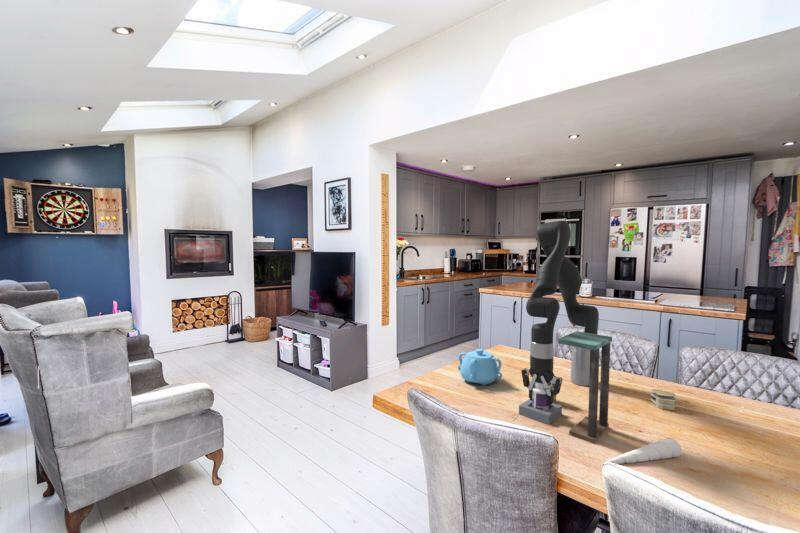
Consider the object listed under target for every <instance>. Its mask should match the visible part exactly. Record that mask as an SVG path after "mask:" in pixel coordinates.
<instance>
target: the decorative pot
mask: <svg viewBox="0 0 800 533" xmlns="http://www.w3.org/2000/svg"><path fill="white" fill-rule="evenodd" d="M462 356H464V358H463V359H462ZM458 361H459V364H458V366H457V370H458V371H459V374H460V376H461V378H462V379H463V380H465V381H466V382H467V383H474V384H480V385H481V386H487V385H490V384H492V383H493V382H495V381H496V379H497V380H498V379H499V380H501V379H502V378H503V373H502V372H500V371H501V368H502V361H501V359H500V358H498V357H495V356H494V354H493V353H490V352H488V351H486V350H484V349H482V348H477V349H475V350H471V351H470V352H461V353H459V355H458Z"/></svg>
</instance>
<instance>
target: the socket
mask: <svg viewBox="0 0 800 533" xmlns="http://www.w3.org/2000/svg"><path fill="white" fill-rule="evenodd" d="M562 413H563V405H560V404H557V403H555V402H554V403H553V404H551V405H550V406H549V410H547V411H546V412H545V411H542V410H539V409H536V408H533V407H532V401H531V400H530V398H528V399H527V400H526V401H524V402H523V403H521V404H519V405H518V415H520V416H523V417H526V418H529V419H532V420H535V421H538V422H540V423H543V424H546V425H550V424H551V423H552V422H554V421H555V420H557V419H558V418H559V417H561V416H562V415H563V414H562Z"/></svg>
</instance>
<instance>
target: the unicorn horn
mask: <svg viewBox="0 0 800 533" xmlns="http://www.w3.org/2000/svg"><path fill="white" fill-rule="evenodd" d="M681 455H682V447H681V445H680V443H679V442H678V441H677V440H676V439H673V438H672V437H666V438H663V439H661V440H658V441H655V442H652V443H650V444H646V445H643V446H641V447H639V448H636V449H632V450H630V451H627V452H625V453H622V454H620V455H617V456H615V457H613V458H610V459H608V460H607V461H610V462H612V463H617V464H616V465H623V464H625V463H626V464H631V463H637V462H638V463H642V462H649V461H655V460H663V459H670V458H678V457H680V456H681ZM602 465H603V463H602ZM603 466H604V465H603Z"/></svg>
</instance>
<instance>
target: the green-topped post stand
mask: <svg viewBox="0 0 800 533" xmlns="http://www.w3.org/2000/svg"><path fill="white" fill-rule="evenodd" d="M612 342H613V337H612V336H608V335H601V334H598V333H597V334H591V333H585V332H584V331H577V330H576V331H574V332H571V333H569V334H567V335H565V336H561V337H559V338H557V344H559V345H565V346H570V347H572V346H574V347H579V348H585V349H590V378H589V386H588V409H587V410H588V414H587V415H588V416H585V417H583V418H582V419H581V420H579V422H578V423H576V424H575V425H574V426H573V427H571V429H569V431H568V435H569V436H572V437H575V438H578V439H581V440H583V441H586V442H589V443H592V444H594V443H595V442H596V441H598V439H599V438H600V437H601V436H602V435H603V434H604V433H605V431H606V430H607V429H608V428H609V426H610V424H609V422H608V421H609V397H610V396H609V393H610V391H609V390H610V368H611V367H610V364H611V343H612ZM600 349H601V353H600ZM600 354H601V358H600ZM599 374H600V375H599ZM599 376H600V377H599ZM599 378H600V383H599ZM599 387H600V388H599ZM598 401H599V402H598ZM598 404H599V405H598ZM598 408H599V410H598ZM598 412H599V414H598ZM598 415H599V418H598Z"/></svg>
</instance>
